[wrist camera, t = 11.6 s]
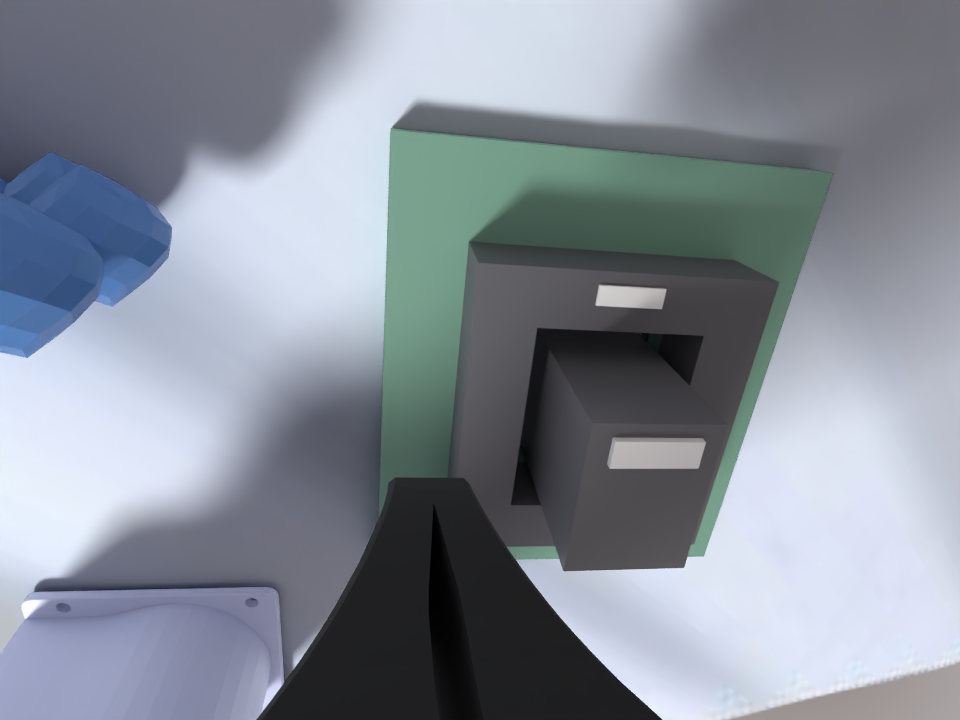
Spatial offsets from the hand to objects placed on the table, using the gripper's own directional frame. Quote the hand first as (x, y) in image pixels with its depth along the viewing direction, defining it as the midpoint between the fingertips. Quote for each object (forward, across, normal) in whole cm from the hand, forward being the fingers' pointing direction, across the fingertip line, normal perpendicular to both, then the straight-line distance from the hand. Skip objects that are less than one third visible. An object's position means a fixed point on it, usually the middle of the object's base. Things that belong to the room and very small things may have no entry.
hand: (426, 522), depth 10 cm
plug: (+10, -6, +2) cm, 12 cm away
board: (+10, -6, +2) cm, 12 cm away
